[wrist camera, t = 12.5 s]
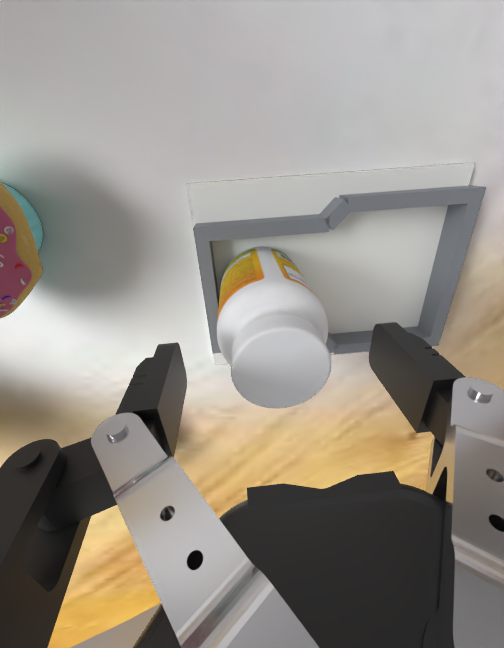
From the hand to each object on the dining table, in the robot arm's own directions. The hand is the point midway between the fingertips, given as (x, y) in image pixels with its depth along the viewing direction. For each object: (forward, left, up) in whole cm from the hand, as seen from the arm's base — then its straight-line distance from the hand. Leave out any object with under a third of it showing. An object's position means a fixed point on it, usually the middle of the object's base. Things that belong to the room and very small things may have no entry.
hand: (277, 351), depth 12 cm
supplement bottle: (0, 0, -9) cm, 9 cm away
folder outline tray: (0, +5, -9) cm, 10 cm away
